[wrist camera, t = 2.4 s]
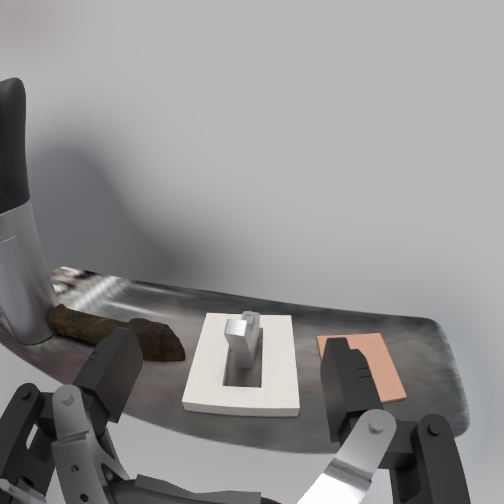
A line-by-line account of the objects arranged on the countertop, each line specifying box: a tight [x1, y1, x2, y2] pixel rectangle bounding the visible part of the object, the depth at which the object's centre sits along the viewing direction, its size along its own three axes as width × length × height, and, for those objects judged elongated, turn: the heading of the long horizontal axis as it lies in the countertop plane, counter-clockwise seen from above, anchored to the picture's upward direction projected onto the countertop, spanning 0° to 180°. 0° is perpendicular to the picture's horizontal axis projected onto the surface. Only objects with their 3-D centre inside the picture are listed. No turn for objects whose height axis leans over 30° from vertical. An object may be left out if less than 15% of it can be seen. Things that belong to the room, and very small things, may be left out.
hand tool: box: [48, 304, 185, 361], centre depth 27 cm, size 19×4×5 cm, turn 80°
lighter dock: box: [182, 313, 300, 417], centre depth 26 cm, size 10×13×2 cm
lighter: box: [224, 311, 260, 369], centre depth 25 cm, size 7×2×8 cm, turn 169°
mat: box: [317, 333, 406, 403], centre depth 25 cm, size 8×10×1 cm
